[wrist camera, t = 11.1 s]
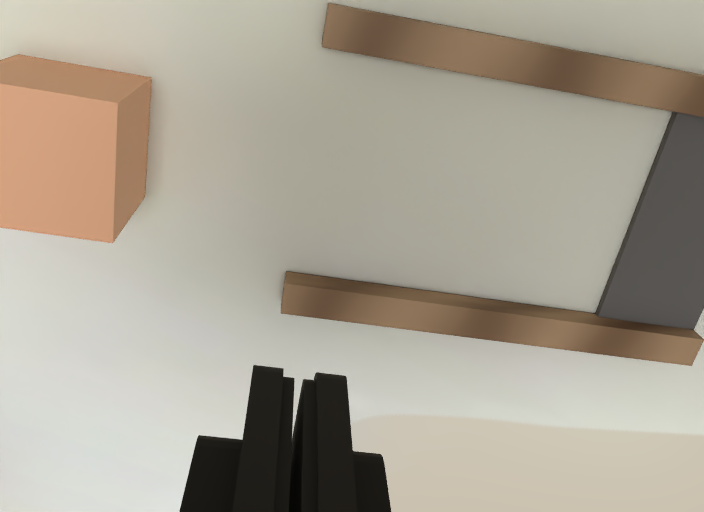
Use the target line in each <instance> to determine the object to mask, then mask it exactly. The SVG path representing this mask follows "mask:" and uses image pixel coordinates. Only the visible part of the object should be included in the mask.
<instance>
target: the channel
mask: <svg viewBox="0 0 704 512" xmlns="http://www.w3.org/2000/svg"><path fill="white" fill-rule="evenodd" d="M322 47H324V48H330V49H335V50H341V51H346V52H352V53H357V54H363V55H368V56H373V57H379V58H384V59H390V60H395V61H401V62H406V63H412V64H417V65H423V66H428V67H433V68H439V69H444V70H450V71H455V72H461V73H466V74H472V75H477V76H483V77H488V78H493V79H499V80H504V81H510V82H515V83H521V84H526V85H532V86H537V87H543V88H548V89H553V90H559V91H564V92H570V93H575V94H581V95H586V96H592V97H597V98H603V99H608V100H613V101H619V102H624V103H630V104H635V105H641V106H646V107H652V108H657V109H662V110H668V111H673V115H672V117H671V120H670V122H669V125H668V128H667V130H666V133H665V135H664V138H663V140H662V143H661V146H660V148H659V151H658V153H657V156H656V159H655V161H654V164H653V166H652V169H651V172H650V174H649V177H648V179H647V182H646V185H645V187H644V190H643V192H642V195H641V197H640V200H639V203H638V205H637V208H636V210H635V213H634V216H633V218H632V221H631V223H630V226H629V229H628V231H627V234H626V236H625V239H624V241H623V244H622V247H621V249H620V252H619V254H618V257H617V260H616V262H615V265H614V267H613V270H612V273H611V275H610V278H609V280H608V283H607V286H606V288H605V291H604V293H603V296H602V298H601V301H600V304H599V306H598V309H597V311H596V314H594V313H587V312H579V311H572V310H565V309H557V308H550V307H543V306H535V305H528V304H521V303H513V302H506V301H499V300H491V299H484V298H477V297H469V296H462V295H455V294H447V293H440V292H433V291H426V290H418V289H411V288H404V287H396V286H389V285H382V284H374V283H367V282H360V281H352V280H345V279H338V278H330V277H323V276H316V275H308V274H301V273H294V272H286V276H285V282H284V289H283V295H282V303H281V313H282V314H290V315H298V316H306V317H313V318H321V319H329V320H337V321H345V322H353V323H360V324H368V325H376V326H384V327H392V328H399V329H407V330H415V331H423V332H431V333H439V334H446V335H454V336H462V337H470V338H478V339H485V340H493V341H501V342H509V343H517V344H524V345H532V346H540V347H548V348H556V349H564V350H571V351H579V352H587V353H595V354H603V355H610V356H618V357H626V358H634V359H642V360H649V361H657V362H665V363H673V364H681V365H689V366H692V364H693V362H694V360H695V357H696V355H697V353H698V351H699V349H700V347H701V345H702V343H703V341H704V339H703V338H702V337H701V336H699V335H698V334H697V333H696V332H695V331H694V328H695V326H696V324H697V321H698V319H699V317H700V315H701V313H702V311H703V308H704V75H701V74H696V73H691V72H685V71H680V70H675V69H670V68H665V67H659V66H654V65H649V64H644V63H639V62H633V61H628V60H623V59H618V58H613V57H607V56H602V55H597V54H592V53H587V52H582V51H576V50H571V49H566V48H561V47H556V46H550V45H545V44H540V43H535V42H530V41H524V40H519V39H514V38H509V37H504V36H498V35H493V34H488V33H483V32H478V31H473V30H467V29H462V28H457V27H452V26H447V25H441V24H436V23H431V22H426V21H421V20H415V19H410V18H405V17H400V16H395V15H389V14H384V13H379V12H374V11H369V10H364V9H358V8H353V7H348V6H343V5H338V4H332V3H328V7H327V13H326V20H325V26H324V32H323V39H322Z"/></svg>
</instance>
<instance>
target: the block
mask: <svg viewBox="0 0 704 512" xmlns="http://www.w3.org/2000/svg"><path fill="white" fill-rule="evenodd" d="M151 81H152V78H151V77H145V76H139V75H134V74H128V73H122V72H116V71H111V70H105V69H99V68H93V67H88V66H82V65H76V64H70V63H65V62H59V61H53V60H47V59H42V58H36V57H30V56H24V55H19V54H18V55H15V56H12V57H9V58H5V59H2V60H0V228H8V229H15V230H22V231H29V232H36V233H43V234H51V235H58V236H65V237H72V238H79V239H87V240H94V241H101V242H108V243H113V242H114V241H115V239H116V238H117V236H118V235H119V233H120V232H121V231H122V229H123V228H124V226H125V225H126V223H127V222H128V220H129V219H130V218H131V216H132V215H133V213H134V212H135V210H136V209H137V208H138V206H139V205H140V203H141V202H142V200H143V199H144V197H145V188H146V170H147V152H148V135H149V117H150V99H151Z"/></svg>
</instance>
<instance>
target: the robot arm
mask: <svg viewBox="0 0 704 512" xmlns="http://www.w3.org/2000/svg"><path fill="white" fill-rule="evenodd" d="M293 399H294V378H289V377H283V369H282V368H274V367H265V366H257V365H254V366H253V372H252V379H251V386H250V393H249V400H248V407H247V414H246V421H245V427H244V434H243V440H239V439H229V438H219V437H210V436H200V435H199V436H198V438H197V442H196V446H195V450H194V454H193V458H192V462H191V466H190V470H189V475H188V479H187V483H186V487H185V491H184V495H183V499H182V504H181V508H180V512H391V508H390V500H389V494H388V487H387V480H386V473H385V467H384V461H383V457H382V455H381V454H374V453H365V452H354V451H353V450H352V438H351V426H350V413H349V401H348V389H347V379H346V376H342V375H333V374H325V373H316V374H315V377H314V380H306V379H304V380H303V383H302V388H301V393H300V399H299V404H298V410H297V415H296V421H295V426H294V432H293V437H292V422H293Z"/></svg>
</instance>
